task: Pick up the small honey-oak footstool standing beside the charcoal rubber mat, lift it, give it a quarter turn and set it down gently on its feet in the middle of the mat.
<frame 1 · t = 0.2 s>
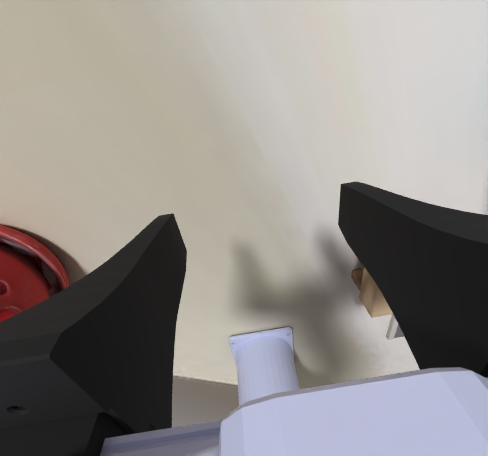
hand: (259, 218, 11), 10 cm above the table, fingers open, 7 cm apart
plant pot: (4, 262, 24), on the table
stool: (373, 251, 26), on the table
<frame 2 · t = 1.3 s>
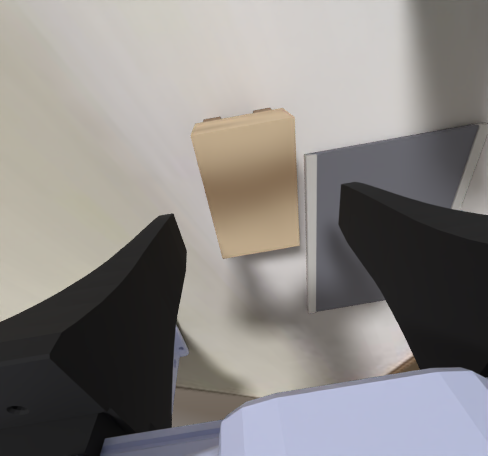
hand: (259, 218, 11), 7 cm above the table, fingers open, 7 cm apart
mat: (377, 235, 21), on the table
stool: (244, 165, 17), on the table
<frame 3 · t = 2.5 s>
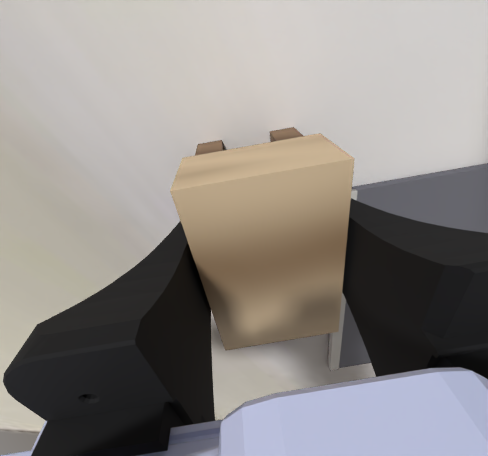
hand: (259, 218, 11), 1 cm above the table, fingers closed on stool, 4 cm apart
mat: (423, 285, 17), on the table
stool: (255, 203, 12), on the table, touching gripper
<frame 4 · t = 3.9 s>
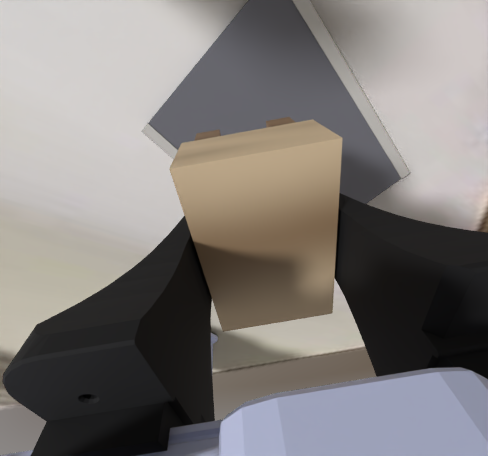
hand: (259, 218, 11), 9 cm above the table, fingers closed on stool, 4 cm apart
mat: (286, 151, 19), on the table
stool: (252, 192, 13), point 7 cm above the table, touching gripper
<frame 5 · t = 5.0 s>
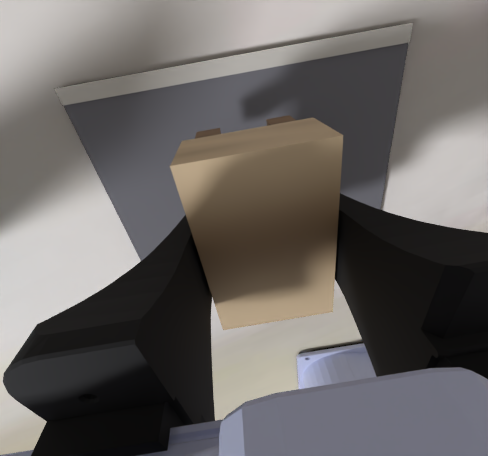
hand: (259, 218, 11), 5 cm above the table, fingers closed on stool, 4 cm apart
mat: (249, 178, 15), on the table
stool: (252, 191, 13), point 3 cm above the table, touching gripper
when the fingers open (3 cm above the table, at t = 5.8 s): stool stays where it is, resting on mat.
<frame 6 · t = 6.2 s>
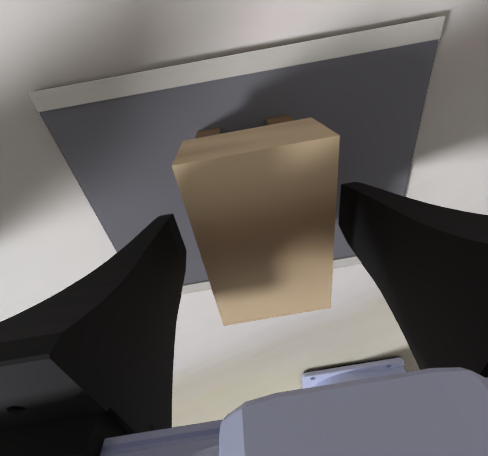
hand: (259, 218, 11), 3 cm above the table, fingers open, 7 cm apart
mat: (252, 192, 13), on the table
stool: (252, 189, 13), resting on mat
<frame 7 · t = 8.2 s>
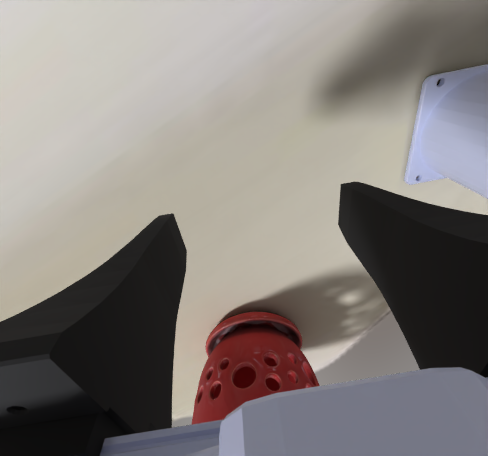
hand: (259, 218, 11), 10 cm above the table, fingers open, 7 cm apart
plant pot: (250, 334, 33), on the table
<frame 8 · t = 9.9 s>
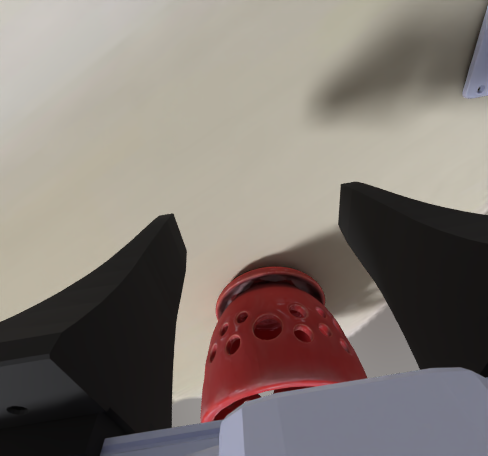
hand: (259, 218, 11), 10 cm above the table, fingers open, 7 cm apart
plant pot: (265, 298, 29), on the table
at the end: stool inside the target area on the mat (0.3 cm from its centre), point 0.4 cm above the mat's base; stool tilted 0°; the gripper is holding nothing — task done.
